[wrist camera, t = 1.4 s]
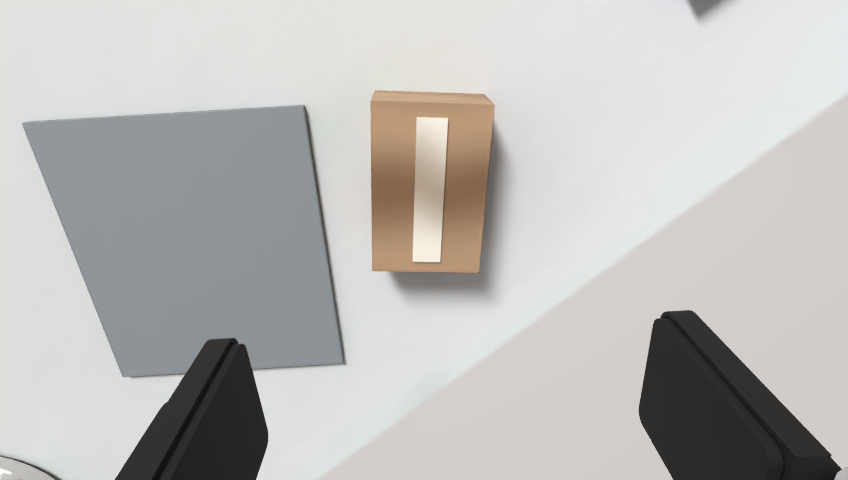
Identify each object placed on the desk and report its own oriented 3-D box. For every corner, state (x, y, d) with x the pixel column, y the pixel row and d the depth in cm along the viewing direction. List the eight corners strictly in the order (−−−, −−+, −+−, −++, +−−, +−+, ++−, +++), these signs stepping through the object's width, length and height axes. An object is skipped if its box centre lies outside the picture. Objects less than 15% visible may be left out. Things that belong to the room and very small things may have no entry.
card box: (470, 243, 28) (479, 274, 25) (376, 241, 28) (372, 272, 25) (483, 93, 25) (494, 105, 21) (375, 89, 24) (370, 101, 21)
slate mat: (343, 359, 31) (342, 363, 31) (126, 372, 31) (122, 376, 31) (304, 104, 24) (302, 106, 24) (27, 121, 24) (21, 123, 24)
